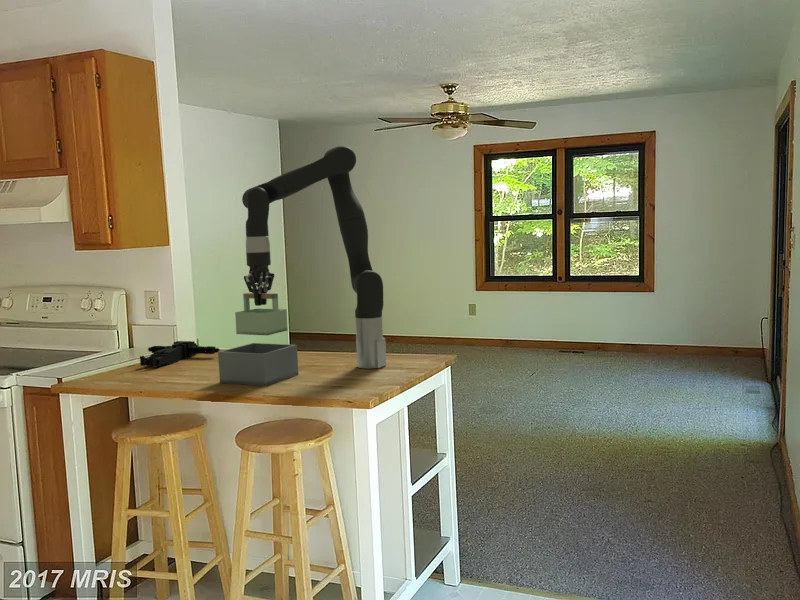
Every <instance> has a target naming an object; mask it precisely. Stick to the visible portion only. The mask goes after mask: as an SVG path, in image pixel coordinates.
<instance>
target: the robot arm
mask: <svg viewBox="0 0 800 600" xmlns="http://www.w3.org/2000/svg"><path fill="white" fill-rule="evenodd" d="M356 164H357V156H356V153H355V151H354V150H353V149H352V148H350V147H349V146H346V145H345V146H344V145H341V146H340V145H338V146H335V147H333V148H331V149H329V150H327V151H326V152H325V153H324V155H323V157H321V158H320V159H317V160H315V161H313V162H312V163H309V164H307V165H304V166H300V167H298V168H295V169H292V170H290V171H287V172H285V173H283V174H281V175H278V176H276V177H274V178H272V179H271V180H268V181H265V182H264V183H261V184H258V185H256V186H253V187H250V188H248V189H247V190H245V191H244V193H243V194H242V196H241V197H242V198H241V201H242V204H243V206H244V207H245V208H246V209H247V219H246V221H245V236H246V237H245V254H246V255H245V256H246V259H245V260H246V265H247V267H249V271H248V274H247V275H244V276H243V281H244V282H245V285H246V288H247V290H248V293H253V294H254V299H253V300H254V306H257V307H260V306H262V305H263V306H265V305H267V302H268V299H261V293H268V292H269V291H271V289H272V286H273V281H274V278H275V273H274V272H273V273H272V272H270V269H269V266H271V263H272V260H271V243H270V242H271V241H270V238H269V236H270V234H269V224H268V223H269V214H270V213H269V212H270V204H271V203H274V202H276V201H279V200H283V199H285V198H287V197H290V196H292V195H294V194H296V193H298V192H300V191H303V190H304V189H307V188H308V187H311V186H312V185H314V184H316V183H319V182H320V181H323V180H325V179H327V181H328V184H329V187H330V190H331V194H332V199H333V203H334V208H335V213H336V216H337V222H338V223H337V224H338V227H339V231H340V234H341V238H342V241H343V246H344V249H345V253H346V257H347V260H348V266H349V273H350V281H351V282H350V284H351V288H352V289H353V291H354V292H355V294H356V308H355V309H354V316H355V339H356V340H355V343H356V362H357V363H356V364H357V367H358V368H360V369H368V370H369V369H380V368H383V367H385V366H387V345H386V344H387V342H386V338H385V337H384V333H383V332H384V329H383V327H384V326H383V310H384V282H383V278H382V276H381V275H380V274H379V273H378V272H377V271H374V269H373V267H372V264H371V260H370V257H369V249H368V248H369V230H368V225H367V224H368V223H367V221H366V220H367V219H366V215H365V211H364V209H363V207H362V205H361V202H360V200H359V199H358V197H357V195H356V193H355V191H354V190H353V186H352V183H351V177H350V172H351V171H352V170H353V169H354V167H356Z"/></svg>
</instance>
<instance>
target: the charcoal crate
mask: <svg viewBox="0 0 800 600" xmlns="http://www.w3.org/2000/svg"><path fill="white" fill-rule="evenodd" d="M298 359H299V358H298V345H297V344H286V343H285V344H283V343H266V342H263V343H261V342H251V343H247V344H244V345H240V346H239V345H238V346H236V347H230V348H228V349H224V350H220V351H219V352H217V361H218V373H219V383H221V384H234V385H244V386H245V385H246V386H259V387H267V386H270V385H273V384H275V383H278V382H282V381H284V380H287V379H290V378H293V377H295V376H296V377H297V376H298V375H299V360H298Z"/></svg>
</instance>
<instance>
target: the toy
mask: <svg viewBox="0 0 800 600" xmlns="http://www.w3.org/2000/svg"><path fill="white" fill-rule="evenodd" d="M147 351H148V352H151V354H150V355H149V356H147V357H145V356H144V355H140V356H139V362H140V366H141V367H144V366H145V367H147V366H148V367H149V366H150V367H160V366H162V365H172V364H176V363H178V362H179V360H181V359H185V360H186V359H191V358H193V357H194V356H195V355H200V354H201V355H202V354H204V355H213V354H214V355H215V354H218V352H219V351H221V350H220V348H219V347H216V346H213V345H211V346H209V345H208V346H201V345H198V344H197V343H196V341H190V340H188V341H187V340H176V341H173V344H171V345H153V346H150V347H148V349H147Z"/></svg>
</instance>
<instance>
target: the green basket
mask: <svg viewBox="0 0 800 600" xmlns="http://www.w3.org/2000/svg"><path fill="white" fill-rule="evenodd" d="M242 295H243V296H242V297H243V298H242V299H243V310H241V311H235V312H234V314H235V334H236V335H244V336H245V335H247V336H249V335H250V336H252V335H253V336H272V335H275V334H279V333H283V332H287V331H288V312H287V308H279V296H278V293H272V292H271V293H270V292H269V293H268V292H267V293H261V299H267V300H268V299H269V300H271V301H272V302H271V303H272V308H257V307H256V308H251V307H250V306H251V305H250V299H253V300H254V294H253V293H252V292H246V293H243V294H242Z"/></svg>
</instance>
